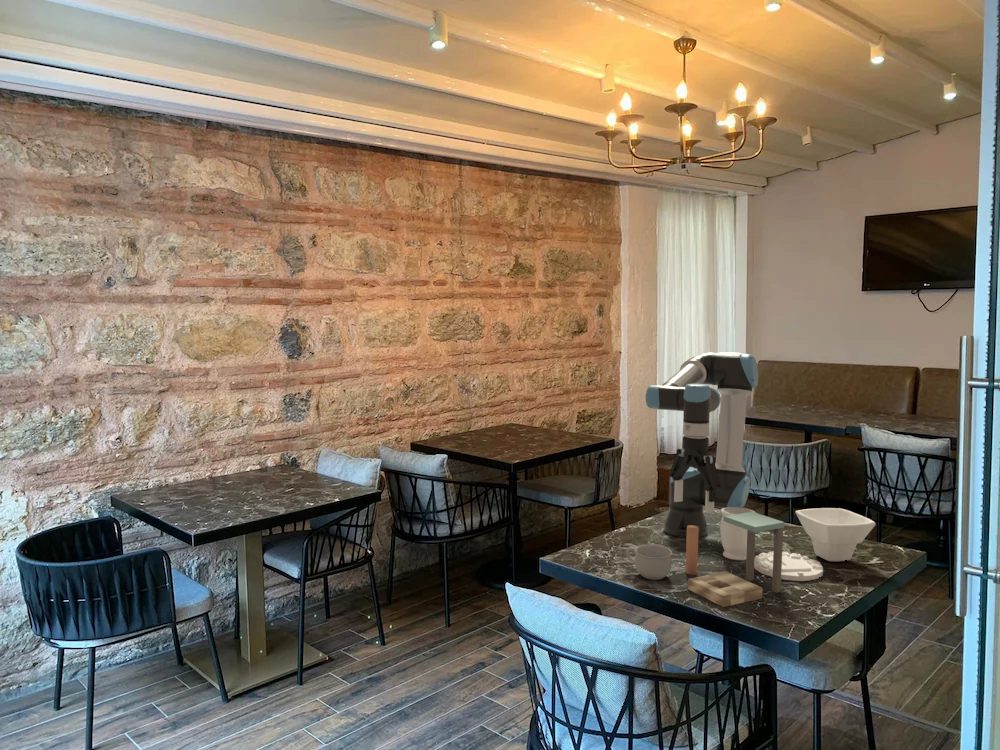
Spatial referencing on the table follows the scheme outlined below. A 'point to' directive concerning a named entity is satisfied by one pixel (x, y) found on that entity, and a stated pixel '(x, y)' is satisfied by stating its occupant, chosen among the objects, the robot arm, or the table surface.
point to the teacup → (651, 560)
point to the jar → (733, 535)
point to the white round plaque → (790, 566)
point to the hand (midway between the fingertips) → (693, 506)
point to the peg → (692, 549)
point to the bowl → (834, 531)
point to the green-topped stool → (753, 525)
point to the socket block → (724, 588)
